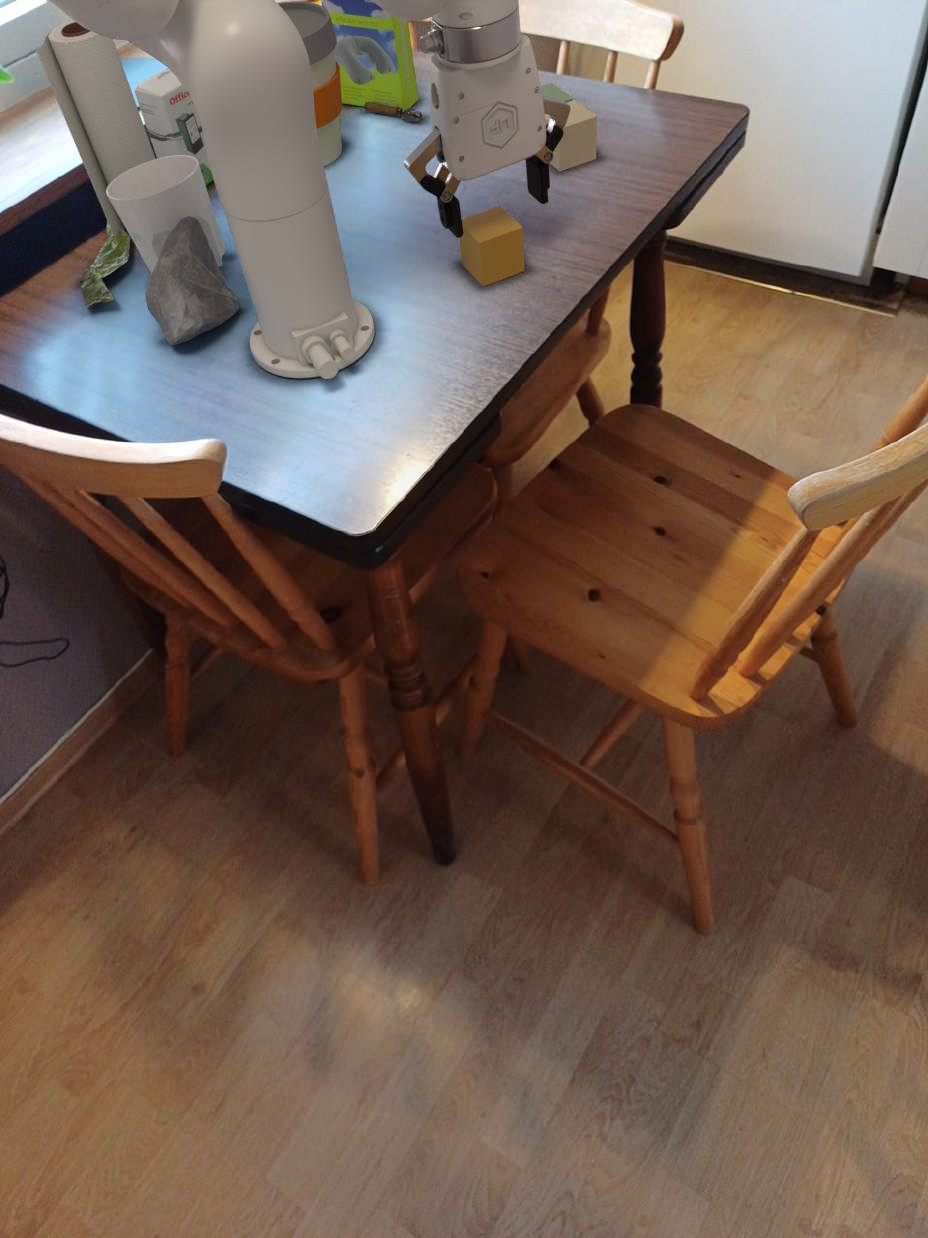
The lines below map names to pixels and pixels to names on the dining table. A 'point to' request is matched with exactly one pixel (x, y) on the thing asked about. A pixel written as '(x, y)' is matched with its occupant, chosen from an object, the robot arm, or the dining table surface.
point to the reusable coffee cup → (321, 72)
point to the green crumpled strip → (105, 267)
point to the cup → (163, 204)
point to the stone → (188, 286)
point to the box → (372, 54)
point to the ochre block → (492, 246)
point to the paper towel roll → (96, 106)
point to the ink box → (172, 119)
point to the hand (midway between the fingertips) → (496, 214)
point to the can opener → (393, 111)
